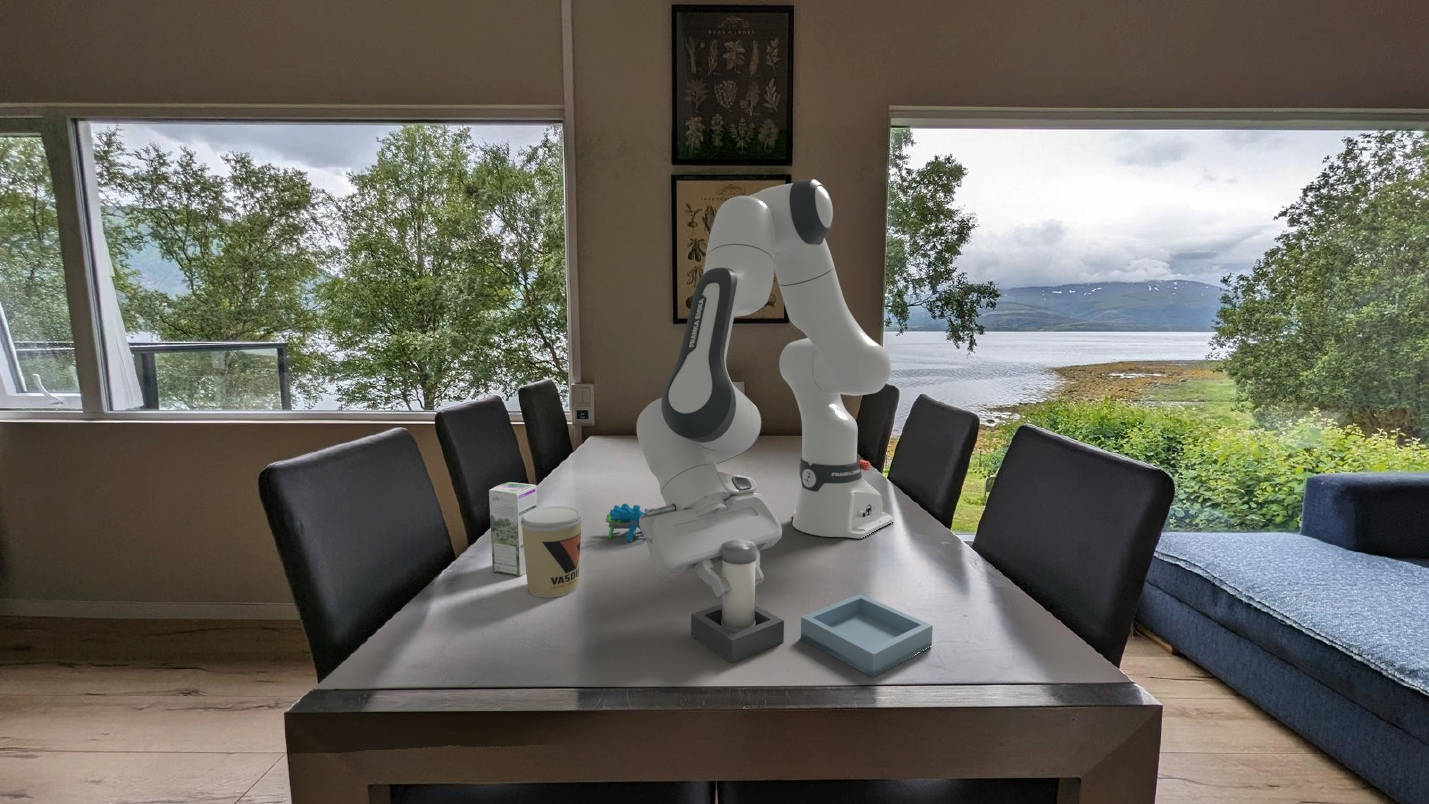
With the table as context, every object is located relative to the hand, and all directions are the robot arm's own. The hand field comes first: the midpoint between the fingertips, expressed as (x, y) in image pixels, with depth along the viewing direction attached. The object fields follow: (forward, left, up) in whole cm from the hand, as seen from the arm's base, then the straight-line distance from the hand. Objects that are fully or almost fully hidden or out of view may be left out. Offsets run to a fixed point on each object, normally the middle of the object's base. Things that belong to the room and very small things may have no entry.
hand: (741, 588), depth 83 cm
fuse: (0, -1, -6) cm, 6 cm away
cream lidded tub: (+13, -31, -7) cm, 34 cm away
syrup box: (+15, -42, -7) cm, 45 cm away
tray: (-13, +10, -7) cm, 18 cm away
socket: (0, -1, -7) cm, 7 cm away
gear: (-9, -44, -8) cm, 46 cm away
